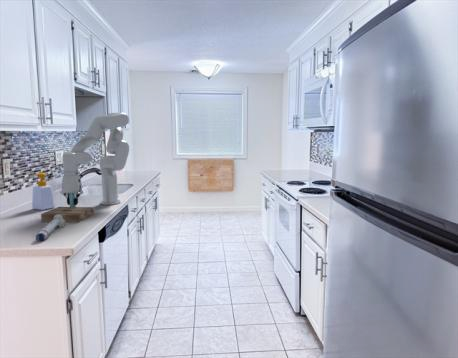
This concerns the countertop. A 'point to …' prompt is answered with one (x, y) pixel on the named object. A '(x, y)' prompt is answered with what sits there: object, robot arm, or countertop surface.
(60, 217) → the white handheld massager
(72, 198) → the peg
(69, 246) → the countertop surface
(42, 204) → the soap bottle
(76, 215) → the socket block
